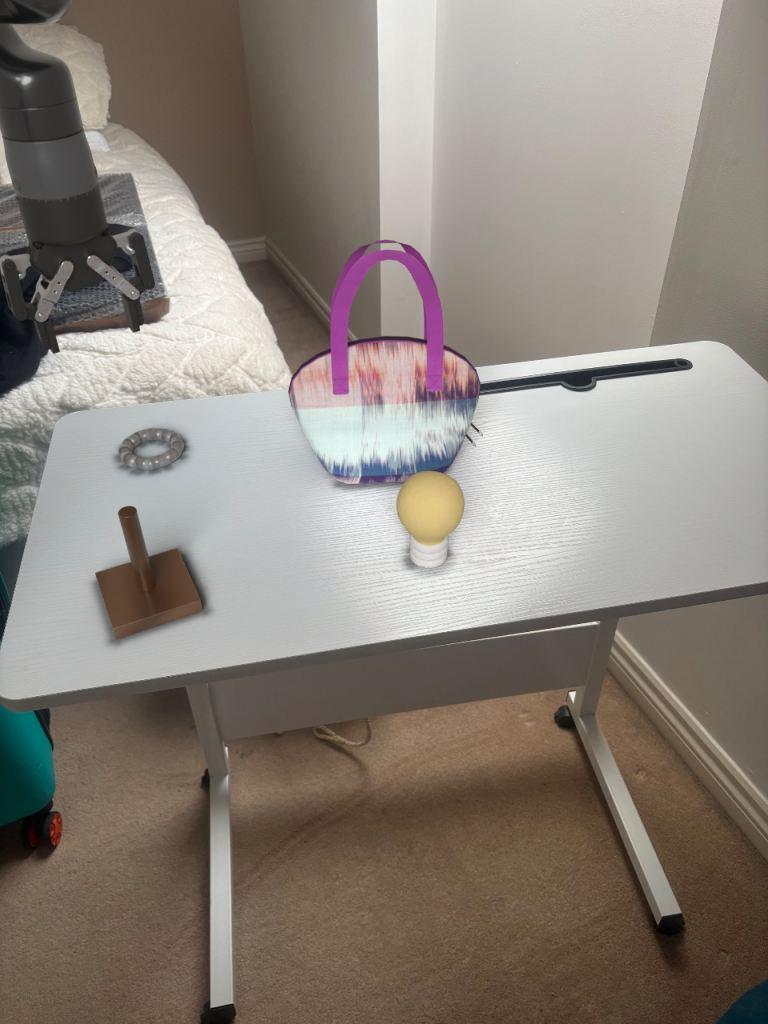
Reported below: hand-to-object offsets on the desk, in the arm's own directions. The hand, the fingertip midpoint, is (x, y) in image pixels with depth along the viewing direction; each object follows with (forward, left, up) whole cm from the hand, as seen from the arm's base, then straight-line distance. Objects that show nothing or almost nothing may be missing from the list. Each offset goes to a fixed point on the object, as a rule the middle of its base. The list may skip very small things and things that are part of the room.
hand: (95, 339), depth 88 cm
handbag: (+27, -15, -14) cm, 34 cm away
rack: (-3, -25, -14) cm, 29 cm away
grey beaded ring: (+3, -2, -14) cm, 14 cm away
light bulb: (+23, -32, -14) cm, 42 cm away
